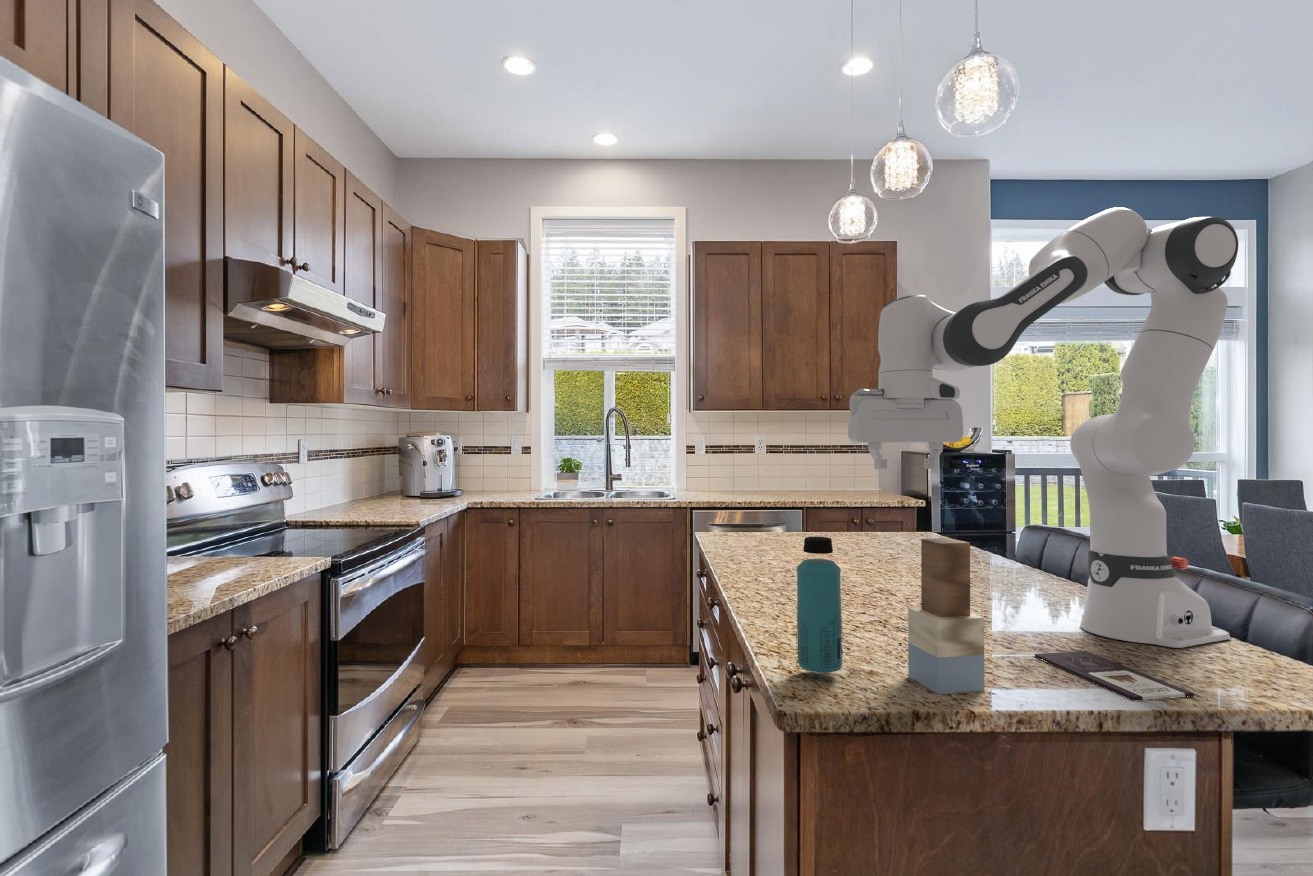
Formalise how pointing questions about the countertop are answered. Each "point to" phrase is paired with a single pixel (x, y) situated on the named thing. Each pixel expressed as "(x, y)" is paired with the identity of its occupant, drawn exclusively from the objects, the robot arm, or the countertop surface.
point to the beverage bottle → (819, 610)
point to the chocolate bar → (1113, 676)
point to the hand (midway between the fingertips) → (905, 469)
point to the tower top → (946, 633)
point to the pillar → (945, 577)
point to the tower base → (946, 671)
